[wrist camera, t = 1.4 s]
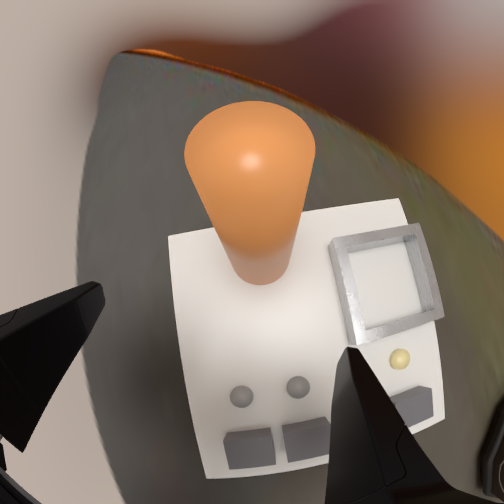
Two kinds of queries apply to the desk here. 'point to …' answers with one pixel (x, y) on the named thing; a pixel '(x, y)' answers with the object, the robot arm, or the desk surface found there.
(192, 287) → the breaker panel
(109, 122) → the desk surface
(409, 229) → the socket collar
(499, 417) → the black drum container
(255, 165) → the plug
